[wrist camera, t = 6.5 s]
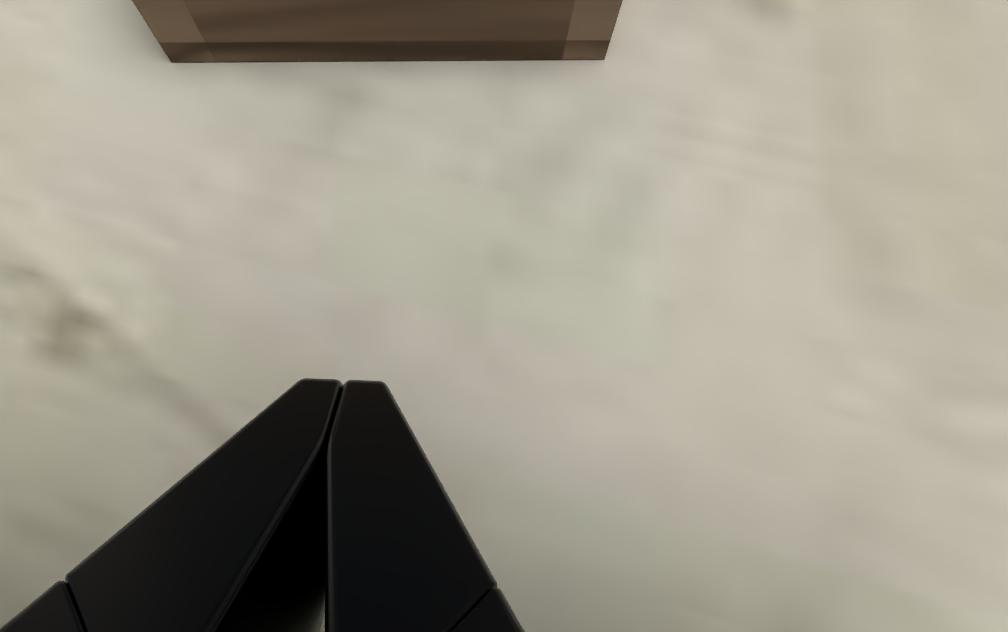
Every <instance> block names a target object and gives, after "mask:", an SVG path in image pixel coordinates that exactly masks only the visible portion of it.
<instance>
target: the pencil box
mask: <svg viewBox="0 0 1008 632" xmlns="http://www.w3.org/2000/svg"><path fill="white" fill-rule="evenodd" d="M132 1H133V3H134V4H135V6H136V7H137V9H138V11H139V12H140V14H141V15H142V17H143V18H144V20H145V22H146V23H147V25H148V26H149V28H150V29H151V31H152V33H153V34H154V36H155V37H156V39H157V40H158V42H159V44H160V45H161V47H162V48H163V50H164V51H165V53H166V55H167V56H168V58H169V59H170V61H171V62H245V61H399V60H553V59H605V55H606V52H607V49H608V46H609V43H610V39H611V36H612V33H613V30H614V26H615V23H616V20H617V17H618V14H619V10H620V7H621V4H622V1H623V0H132Z"/></svg>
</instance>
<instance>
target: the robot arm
mask: <svg viewBox="0 0 1008 632" xmlns="http://www.w3.org/2000/svg"><path fill="white" fill-rule="evenodd" d="M324 611H325V632H525V631H524V630H523V628H522V626H521V625H520V623H519V621H518V620H517V618H516V616H515V614H514V612H513V611H512V609H511V607H510V605H509V603H508V602H507V600H506V598H505V596H504V594H503V593H502V591H501V590H500V589H498V588H497V583H496V581H495V579H494V577H493V575H492V574H491V572H490V570H489V568H488V566H487V565H486V563H485V561H484V559H483V557H482V556H481V554H480V552H479V550H478V548H477V547H476V545H475V543H474V541H473V539H472V538H471V536H470V534H469V532H468V530H467V529H466V527H465V525H464V523H463V521H462V520H461V518H460V516H459V514H458V512H457V511H456V509H455V507H454V505H453V503H452V502H451V500H450V498H449V496H448V494H447V493H446V491H445V489H444V487H443V485H442V484H441V482H440V480H439V478H438V476H437V475H436V473H435V471H434V469H433V467H432V466H431V464H430V462H429V460H428V458H427V457H426V455H425V453H424V451H423V449H422V448H421V446H420V444H419V442H418V440H417V439H416V437H415V435H414V433H413V431H412V430H411V428H410V426H409V424H408V422H407V421H406V419H405V417H404V415H403V413H402V412H401V410H400V408H399V406H398V404H397V403H396V401H395V399H394V397H393V395H392V394H391V392H390V390H389V388H388V387H387V385H386V384H385V383H384V382H381V381H361V380H350V381H347V382H345V384H344V385H343V384H342V383H341V382H340V381H339V380H334V379H308V378H306V379H302V380H300V381H298V382H297V383H296V384H295V385H293V386H292V387H291V388H290V389H289V390H287V391H286V392H285V393H284V394H283V395H281V396H280V397H279V398H278V399H277V400H275V401H274V402H273V403H272V404H271V405H269V406H268V407H267V408H266V409H265V410H263V411H262V412H261V413H260V414H259V415H257V416H256V417H255V418H254V419H253V420H251V421H250V422H249V423H248V424H247V425H245V426H244V427H243V428H242V429H241V430H239V431H238V432H237V433H236V434H235V435H233V436H232V437H231V438H230V439H229V440H227V441H226V442H225V443H224V444H223V445H221V446H220V447H219V448H218V449H217V450H215V451H214V452H213V453H212V454H211V455H209V456H208V457H207V458H206V459H205V460H203V461H202V462H201V463H200V464H199V465H197V466H196V467H195V468H194V469H193V470H191V471H190V472H189V473H188V474H187V475H185V476H184V477H183V478H182V479H181V480H179V481H178V482H177V483H176V484H175V485H173V486H172V487H171V488H170V489H169V490H167V491H166V492H165V493H164V494H163V495H161V496H160V497H159V498H158V499H157V500H155V501H154V502H153V503H152V504H151V505H149V506H148V507H147V508H146V509H145V510H143V511H142V512H141V513H140V514H139V515H137V516H136V517H135V518H134V519H133V520H131V521H130V522H129V523H128V524H127V525H125V526H124V527H123V528H122V529H121V530H119V531H118V532H117V533H116V534H115V535H113V536H112V537H111V538H110V539H109V540H107V541H106V542H105V543H104V544H103V545H101V546H100V547H99V548H98V549H97V550H95V551H94V552H93V553H92V554H91V555H89V556H88V557H87V558H86V559H85V560H83V561H82V562H81V563H80V564H79V565H77V566H76V567H75V568H74V569H73V570H71V571H70V572H69V573H68V574H67V575H66V577H65V582H64V581H58V582H57V583H55V584H54V585H53V586H52V587H50V588H49V589H48V590H47V591H46V592H44V593H43V594H42V595H41V596H40V597H38V598H37V599H36V600H35V601H34V602H32V603H31V604H30V605H29V606H28V607H26V608H25V609H24V610H23V611H22V612H20V613H19V614H18V615H17V616H15V617H14V618H13V619H11V620H10V621H9V622H8V623H6V624H5V625H4V626H3V627H1V628H0V632H320V628H321V624H322V620H323V616H324Z"/></svg>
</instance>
